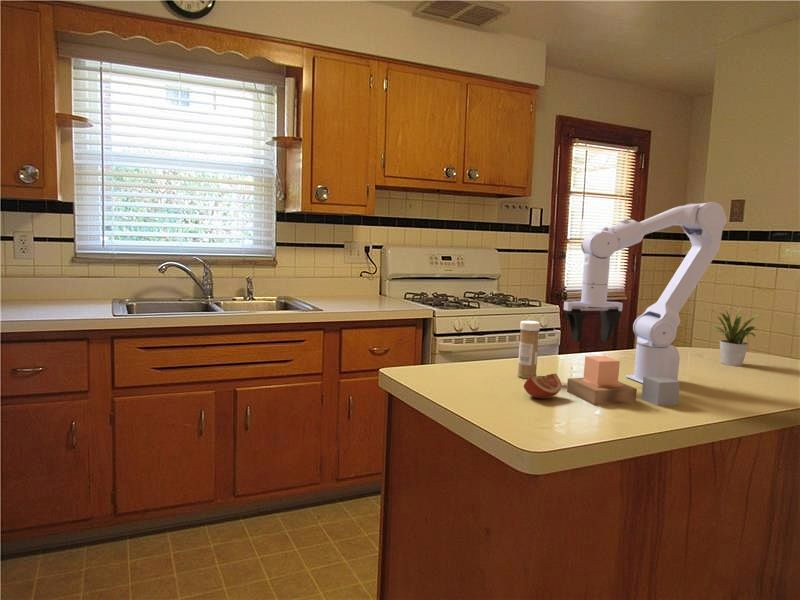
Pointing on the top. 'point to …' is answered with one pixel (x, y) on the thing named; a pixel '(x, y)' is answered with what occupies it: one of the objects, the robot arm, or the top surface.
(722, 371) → the top surface
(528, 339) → the sprinkles bottle
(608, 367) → the terracotta cube
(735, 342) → the house plant
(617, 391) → the walnut plinth
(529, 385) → the fruit slice
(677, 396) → the slate cube
